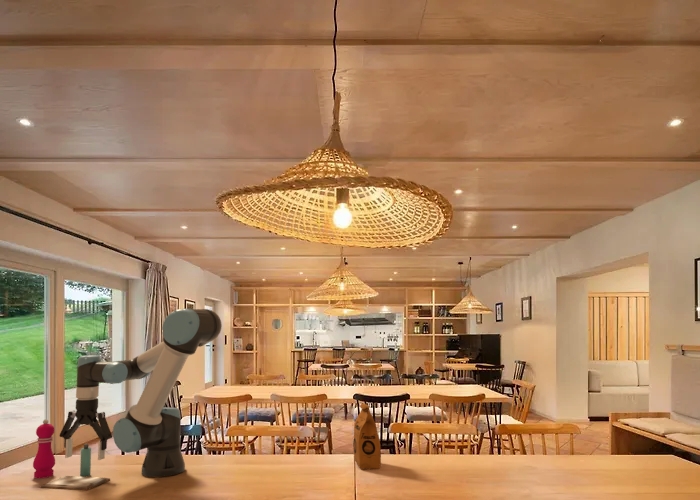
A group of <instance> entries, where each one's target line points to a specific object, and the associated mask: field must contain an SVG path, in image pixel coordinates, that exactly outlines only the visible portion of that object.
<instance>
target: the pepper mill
mask: <svg viewBox="0 0 700 500" xmlns="http://www.w3.org/2000/svg"><path fill="white" fill-rule="evenodd" d="M54 434H55V427H54V425H53V424H50V423H49V420H48V419H43V421H42V424H40V425H38V427H37V428H36V430H35V435H36V436H37V441H36V442H37V443H38V447H37V452H36V455H35V457H34V459H33V462H32V468H33V469H34V470H35V471H34V472H33V478H34V479H47V478H50V477H53V476H54V472H55V471H54V469H53V468H54V467H55V465H56V458H55V456H54V452H53V450H52V441H54V440H53V438H54V437H53V435H54Z"/></svg>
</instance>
